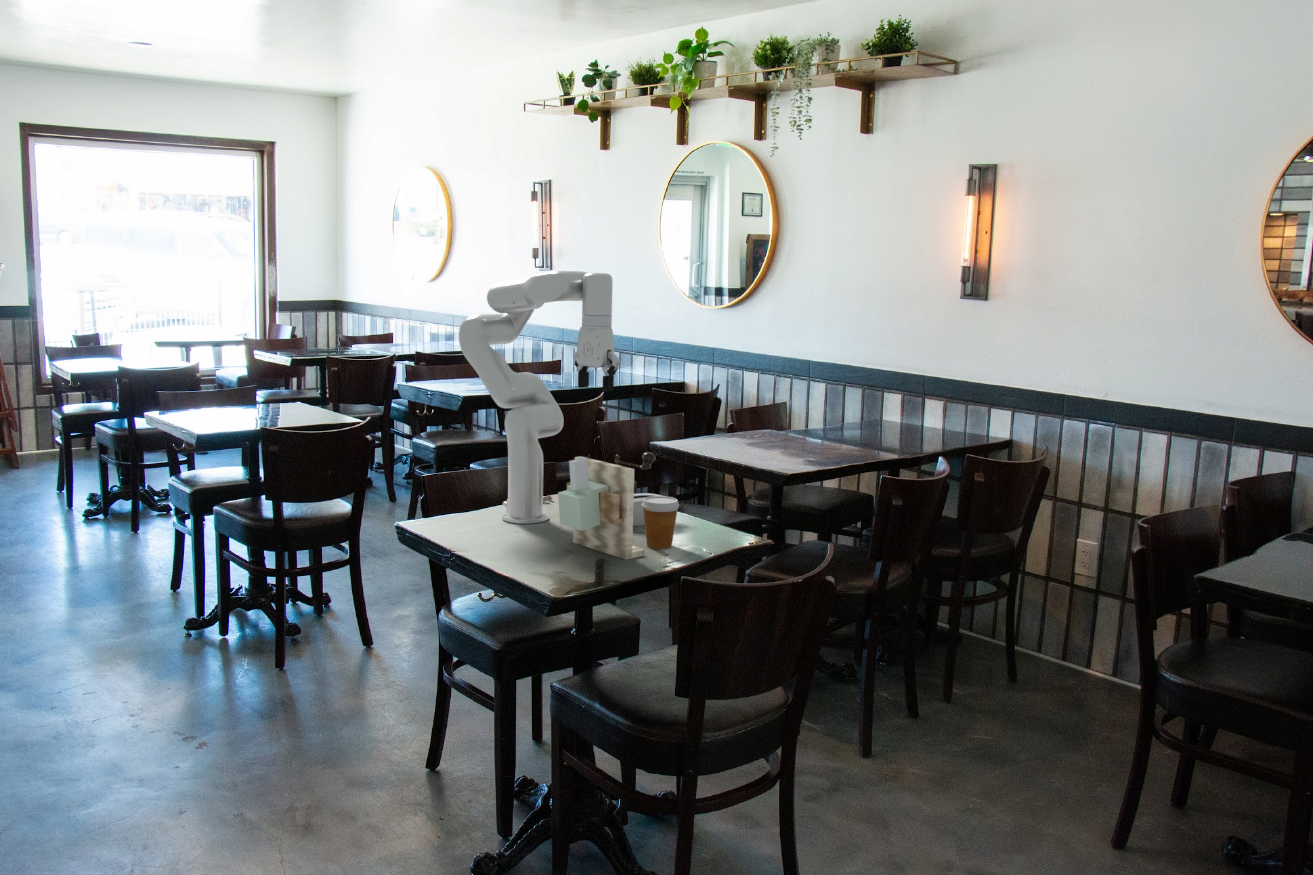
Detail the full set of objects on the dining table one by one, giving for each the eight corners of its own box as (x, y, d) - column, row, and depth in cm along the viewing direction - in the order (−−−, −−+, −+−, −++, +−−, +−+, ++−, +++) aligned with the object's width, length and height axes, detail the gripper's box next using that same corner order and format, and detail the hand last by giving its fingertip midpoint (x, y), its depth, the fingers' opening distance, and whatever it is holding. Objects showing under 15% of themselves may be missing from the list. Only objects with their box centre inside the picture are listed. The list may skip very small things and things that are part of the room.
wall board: (563, 544, 261) (564, 458, 258) (591, 538, 268) (592, 454, 264) (615, 561, 247) (618, 471, 243) (644, 555, 253) (646, 467, 250)
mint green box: (560, 524, 252) (555, 460, 248) (589, 514, 258) (585, 452, 254) (581, 530, 246) (576, 465, 242) (610, 521, 252) (606, 457, 248)
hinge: (669, 520, 289) (672, 489, 284) (672, 529, 285) (676, 499, 280) (609, 521, 286) (612, 491, 281) (612, 531, 282) (615, 500, 277)
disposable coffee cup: (651, 552, 256) (652, 505, 254) (634, 543, 264) (635, 497, 262) (684, 548, 260) (686, 502, 258) (667, 539, 269) (668, 494, 267)
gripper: (563, 320, 266) (562, 386, 269) (608, 324, 254) (606, 393, 257) (586, 320, 271) (585, 385, 274) (630, 324, 259) (629, 392, 262)
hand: (595, 389), depth 265 cm, fingers open, 9 cm apart
